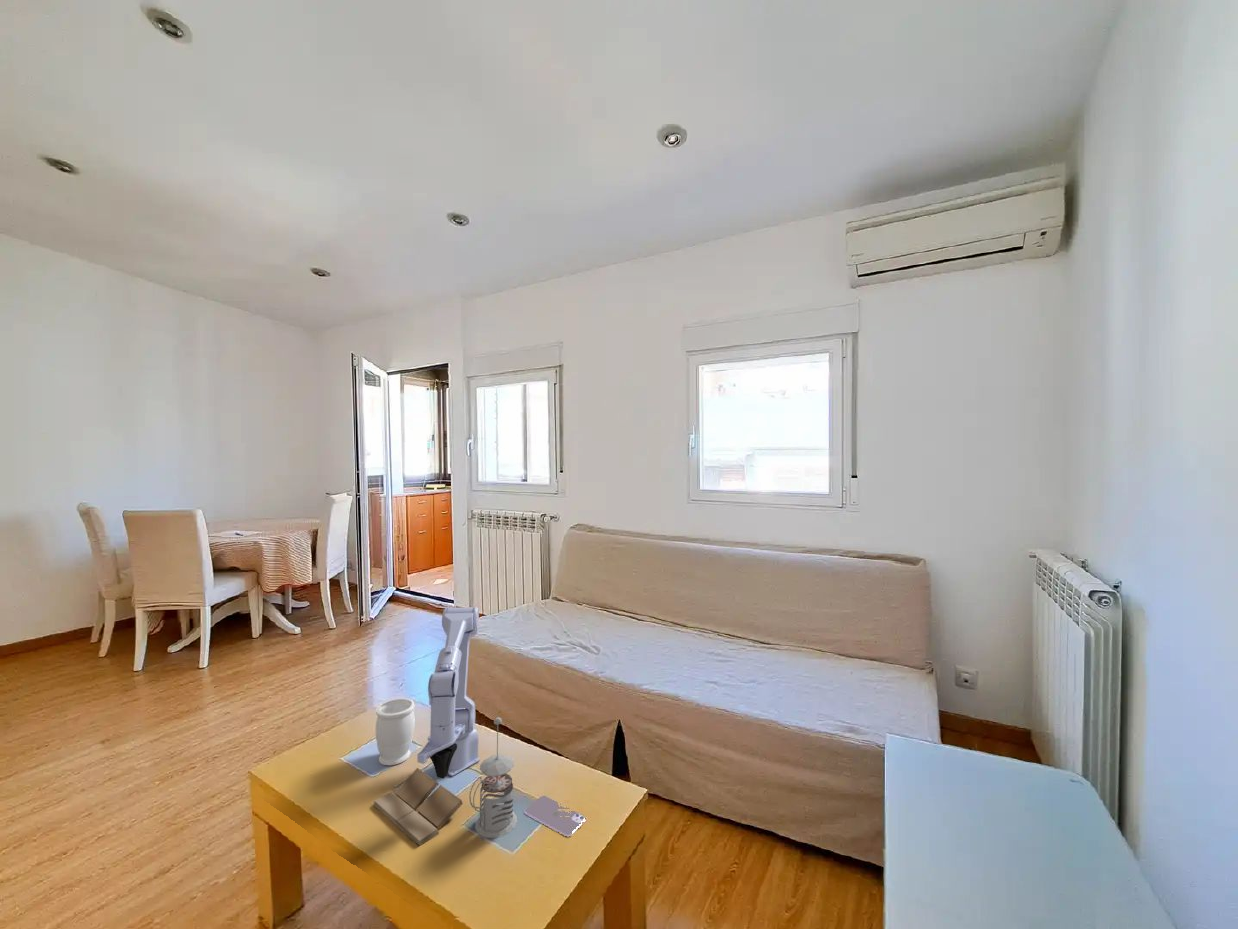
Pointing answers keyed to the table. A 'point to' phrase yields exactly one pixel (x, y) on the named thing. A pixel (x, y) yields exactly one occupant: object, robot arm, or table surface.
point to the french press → (495, 816)
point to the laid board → (406, 818)
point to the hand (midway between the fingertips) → (441, 776)
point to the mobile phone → (554, 816)
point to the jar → (395, 730)
